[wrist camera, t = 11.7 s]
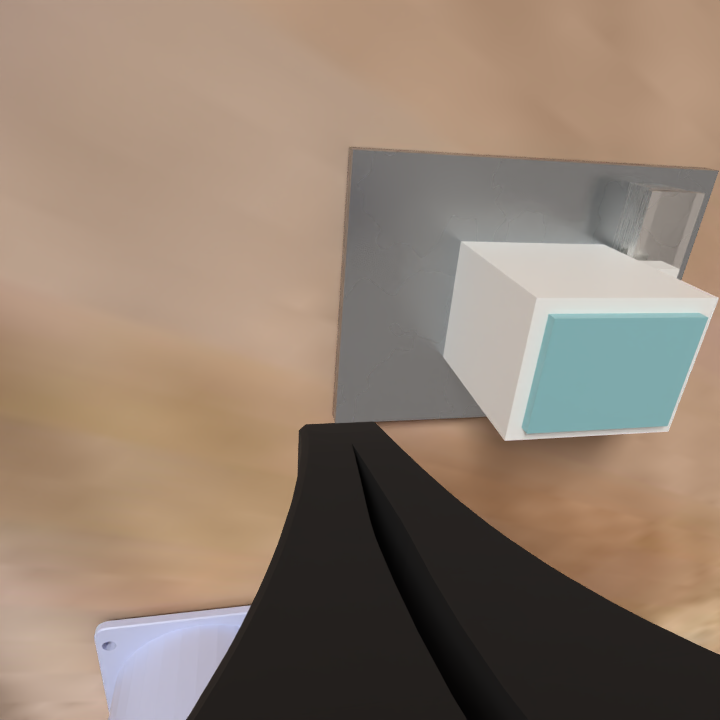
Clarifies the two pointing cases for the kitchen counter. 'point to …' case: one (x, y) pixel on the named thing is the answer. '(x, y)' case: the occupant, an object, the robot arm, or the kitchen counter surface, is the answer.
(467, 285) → the block
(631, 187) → the rail
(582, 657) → the robot arm
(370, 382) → the plate
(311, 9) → the kitchen counter surface
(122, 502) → the kitchen counter surface
